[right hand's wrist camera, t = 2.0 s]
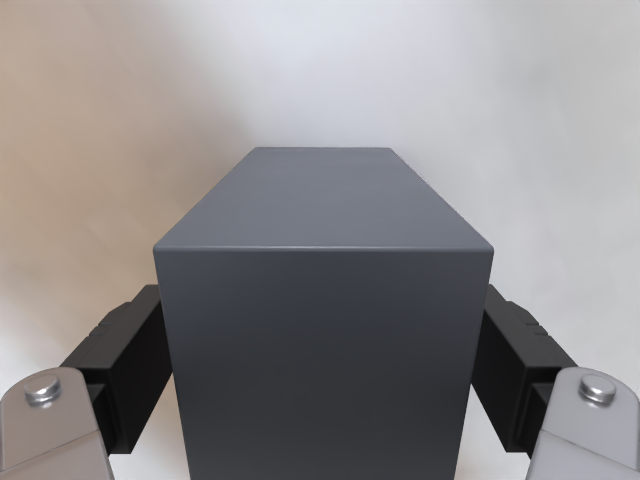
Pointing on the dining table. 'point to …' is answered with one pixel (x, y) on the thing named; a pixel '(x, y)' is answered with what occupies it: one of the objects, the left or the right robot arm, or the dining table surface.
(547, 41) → the dining table surface
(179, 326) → the box
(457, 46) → the dining table surface
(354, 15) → the dining table surface
